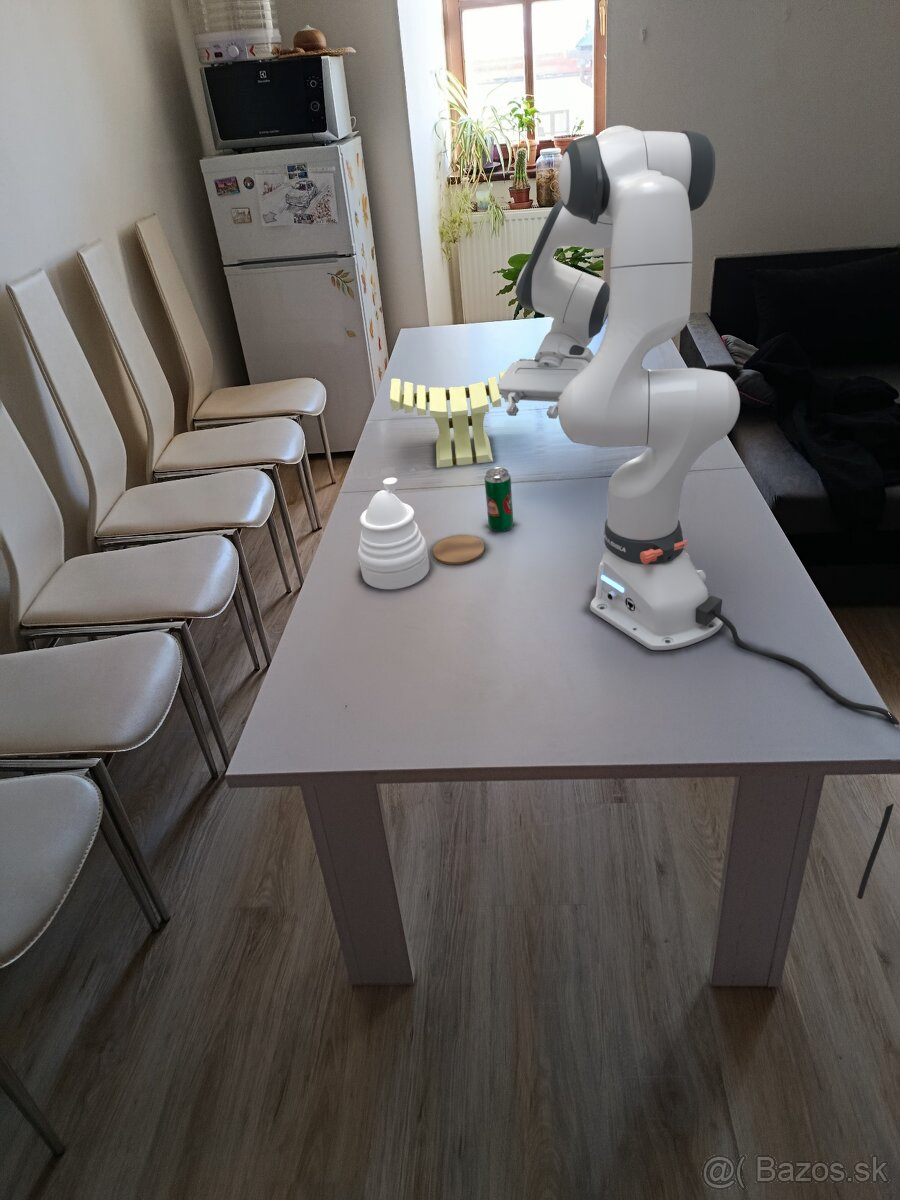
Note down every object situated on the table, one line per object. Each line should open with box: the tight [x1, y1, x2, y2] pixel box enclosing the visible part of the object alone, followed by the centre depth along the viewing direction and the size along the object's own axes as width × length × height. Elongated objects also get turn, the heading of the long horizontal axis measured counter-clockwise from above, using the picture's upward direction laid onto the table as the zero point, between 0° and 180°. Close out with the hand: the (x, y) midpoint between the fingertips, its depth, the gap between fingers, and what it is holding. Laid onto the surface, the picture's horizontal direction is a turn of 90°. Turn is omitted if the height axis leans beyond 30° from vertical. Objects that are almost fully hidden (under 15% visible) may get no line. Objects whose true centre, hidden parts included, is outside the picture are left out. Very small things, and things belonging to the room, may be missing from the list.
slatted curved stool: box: [389, 369, 509, 469], centre depth 186 cm, size 30×16×18 cm, turn 91°
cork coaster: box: [432, 534, 485, 566], centre depth 153 cm, size 10×10×1 cm
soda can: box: [483, 467, 514, 533], centre depth 156 cm, size 5×5×12 cm
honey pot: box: [357, 477, 430, 590], centre depth 145 cm, size 13×13×18 cm
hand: (530, 415), depth 155 cm, fingers open, 8 cm apart
